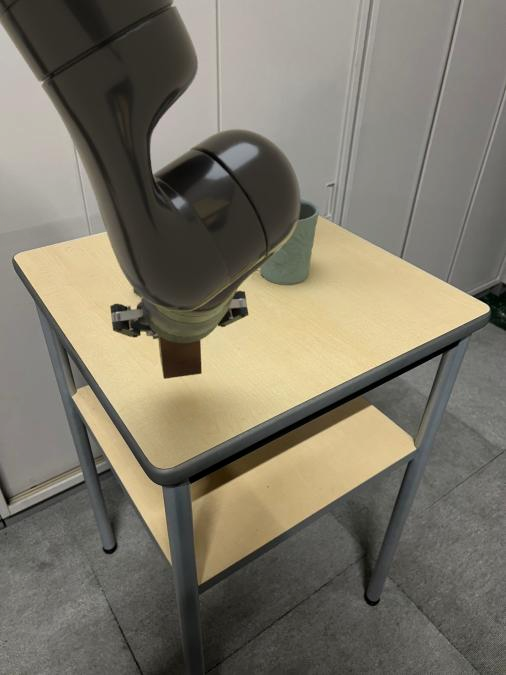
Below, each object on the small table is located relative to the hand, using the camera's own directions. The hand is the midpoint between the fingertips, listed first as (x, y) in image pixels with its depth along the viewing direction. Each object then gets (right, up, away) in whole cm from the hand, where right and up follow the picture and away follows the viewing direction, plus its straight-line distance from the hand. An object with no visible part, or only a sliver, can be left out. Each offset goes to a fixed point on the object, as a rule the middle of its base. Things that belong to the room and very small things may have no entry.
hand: (176, 327), depth 60 cm
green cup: (+15, +10, +32) cm, 36 cm away
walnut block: (0, -4, +1) cm, 5 cm away
